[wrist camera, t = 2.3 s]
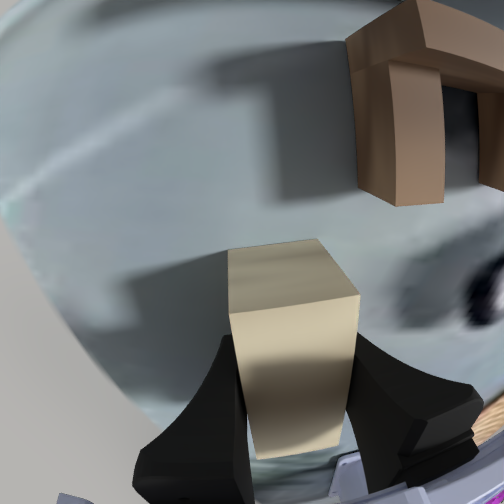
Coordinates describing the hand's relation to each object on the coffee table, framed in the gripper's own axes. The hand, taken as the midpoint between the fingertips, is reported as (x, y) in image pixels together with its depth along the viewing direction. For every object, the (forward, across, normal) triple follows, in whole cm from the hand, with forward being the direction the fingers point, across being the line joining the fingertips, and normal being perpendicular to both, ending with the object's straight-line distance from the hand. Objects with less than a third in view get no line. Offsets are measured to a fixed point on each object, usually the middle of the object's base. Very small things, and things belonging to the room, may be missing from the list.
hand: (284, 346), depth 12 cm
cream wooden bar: (+1, 0, 0) cm, 1 cm away
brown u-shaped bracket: (+1, -8, -9) cm, 12 cm away
